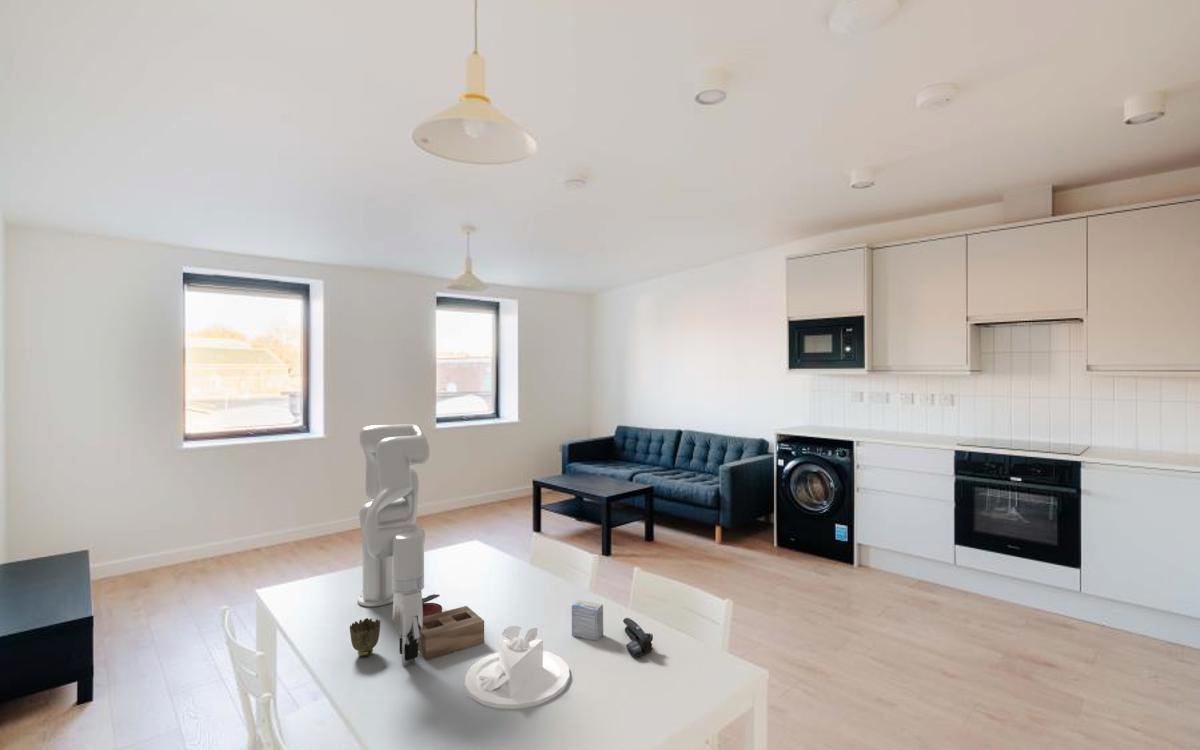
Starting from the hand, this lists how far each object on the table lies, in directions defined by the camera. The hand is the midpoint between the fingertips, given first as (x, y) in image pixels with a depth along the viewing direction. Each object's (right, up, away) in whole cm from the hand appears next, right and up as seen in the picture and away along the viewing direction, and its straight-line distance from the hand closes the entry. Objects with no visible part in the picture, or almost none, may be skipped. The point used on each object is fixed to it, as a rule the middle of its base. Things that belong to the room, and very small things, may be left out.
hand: (408, 654), depth 144 cm
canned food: (-4, -2, +26) cm, 26 cm away
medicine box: (+45, -2, +15) cm, 47 cm away
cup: (-13, -2, +5) cm, 14 cm away
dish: (+28, -3, -7) cm, 29 cm away
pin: (0, -2, 0) cm, 2 cm away
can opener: (+58, -3, +11) cm, 59 cm away
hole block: (+7, -2, +11) cm, 13 cm away
